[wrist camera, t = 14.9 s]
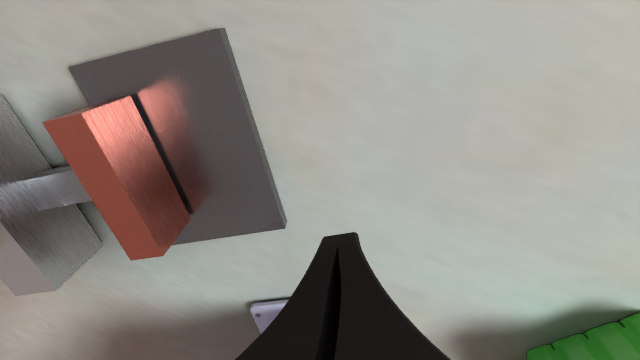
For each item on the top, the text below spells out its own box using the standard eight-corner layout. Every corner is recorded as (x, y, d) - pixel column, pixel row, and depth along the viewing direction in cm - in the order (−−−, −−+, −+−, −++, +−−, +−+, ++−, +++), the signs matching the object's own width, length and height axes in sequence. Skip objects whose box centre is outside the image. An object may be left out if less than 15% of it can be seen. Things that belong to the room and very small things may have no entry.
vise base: (287, 221, 21) (285, 228, 20) (173, 238, 22) (168, 245, 21) (224, 28, 16) (219, 28, 15) (80, 65, 17) (68, 67, 16)
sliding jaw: (204, 229, 21) (174, 276, 17) (68, 250, 23) (14, 296, 19) (125, 64, 16) (60, 77, 13) (-40, 105, 18) (-142, 129, 14)
